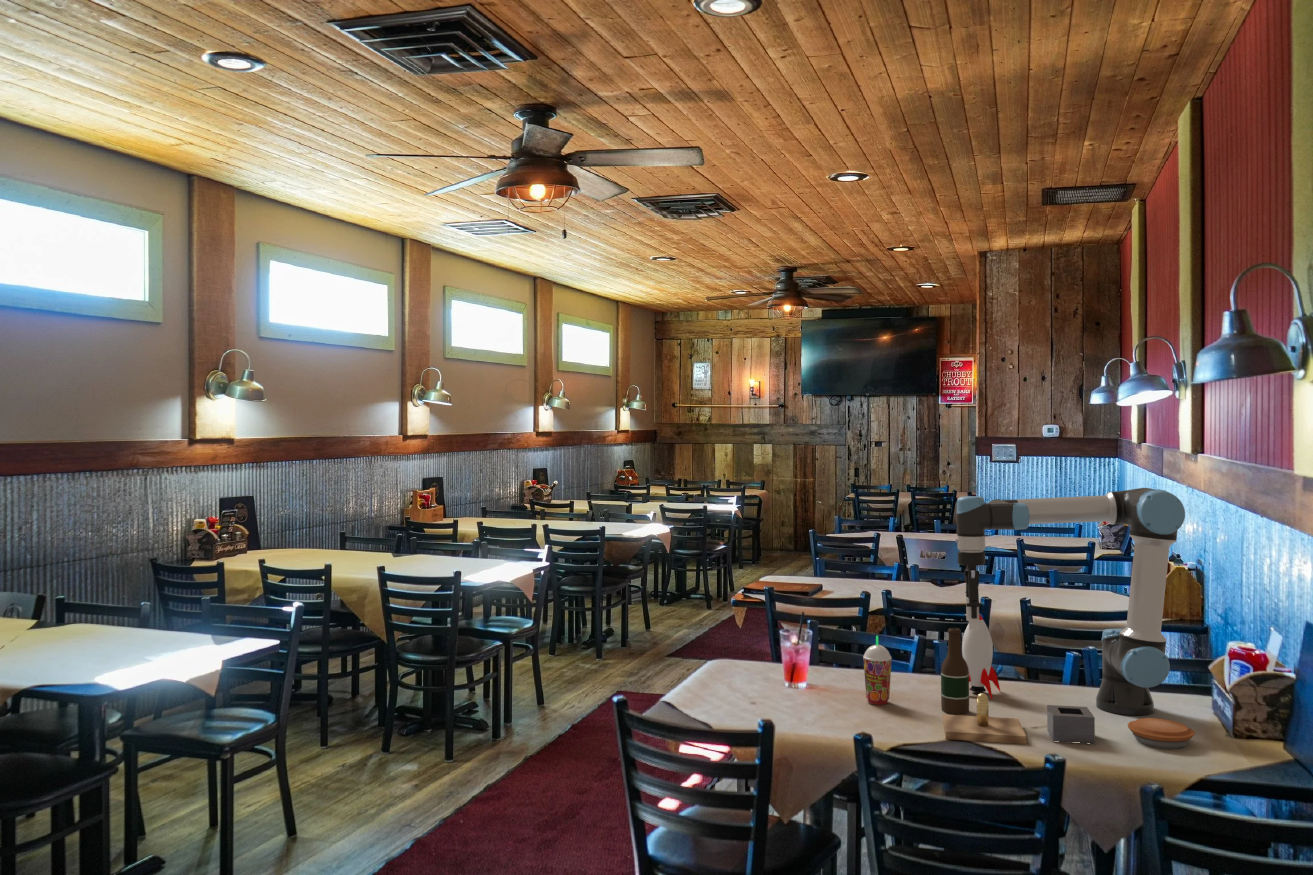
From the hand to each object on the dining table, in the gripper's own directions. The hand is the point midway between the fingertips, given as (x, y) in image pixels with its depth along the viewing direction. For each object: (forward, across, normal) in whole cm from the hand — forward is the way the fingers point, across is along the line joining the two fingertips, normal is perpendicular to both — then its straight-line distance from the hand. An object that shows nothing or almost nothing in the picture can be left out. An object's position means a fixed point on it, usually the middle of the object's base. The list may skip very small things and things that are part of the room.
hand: (972, 625), depth 274 cm
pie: (+27, +13, +45) cm, 54 cm away
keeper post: (+24, +15, +1) cm, 28 cm away
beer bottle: (+26, -4, -5) cm, 27 cm away
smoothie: (+26, -8, -27) cm, 38 cm away
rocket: (+26, -26, +2) cm, 37 cm away
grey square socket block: (+26, +15, +23) cm, 38 cm away
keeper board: (+26, +15, +1) cm, 30 cm away
